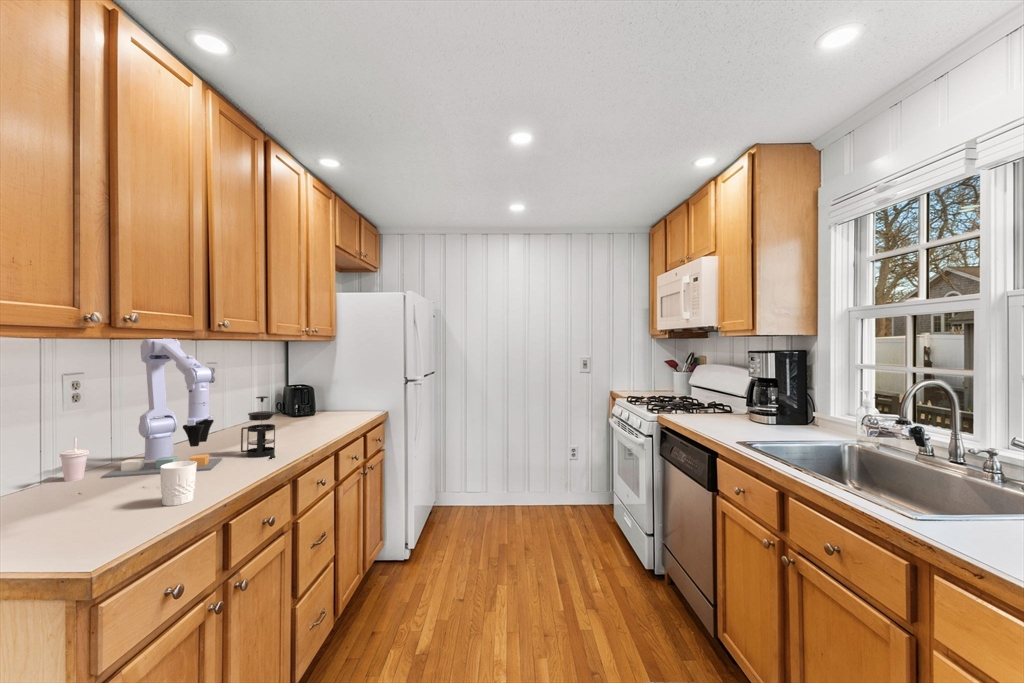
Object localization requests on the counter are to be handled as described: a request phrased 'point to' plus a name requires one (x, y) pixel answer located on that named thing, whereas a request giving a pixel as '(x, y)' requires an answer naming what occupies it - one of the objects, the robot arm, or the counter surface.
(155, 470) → the button panel
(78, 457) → the smoothie
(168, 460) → the teal button
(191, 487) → the white cup
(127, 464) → the white button
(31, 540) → the counter surface
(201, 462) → the orange button
